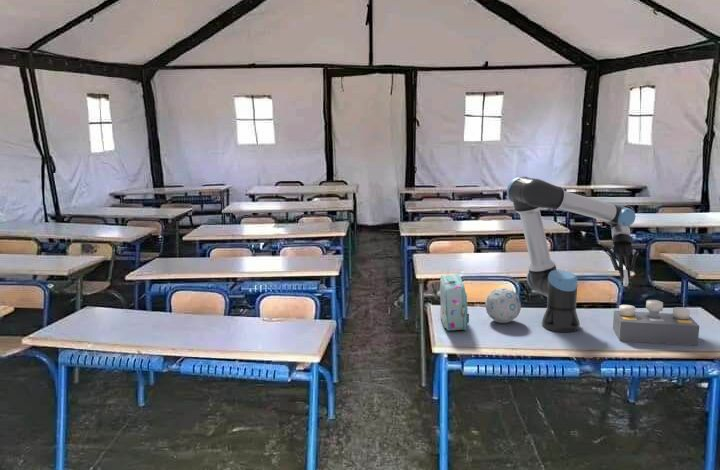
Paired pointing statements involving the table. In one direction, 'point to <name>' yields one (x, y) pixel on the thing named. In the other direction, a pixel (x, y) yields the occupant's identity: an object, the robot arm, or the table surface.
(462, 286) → the lunch box
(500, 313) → the puzzle ball
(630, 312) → the button left
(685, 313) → the button right
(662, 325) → the console
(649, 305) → the button middle
